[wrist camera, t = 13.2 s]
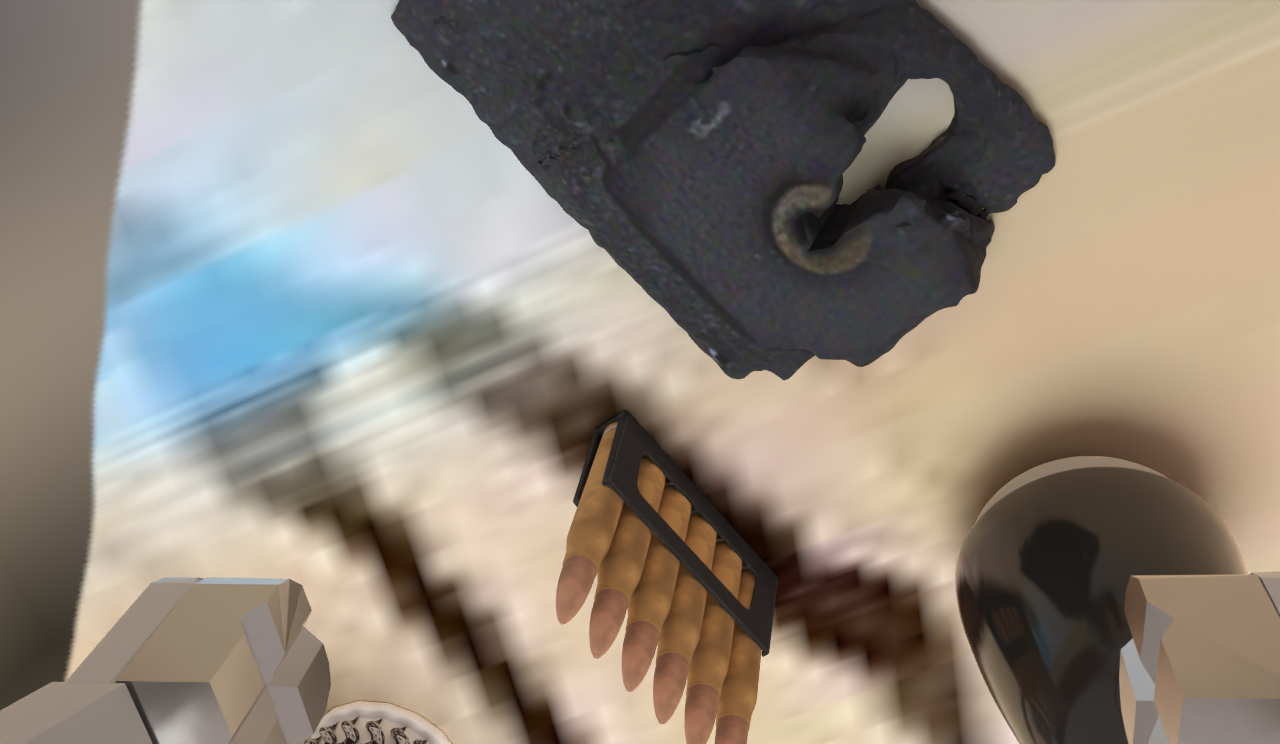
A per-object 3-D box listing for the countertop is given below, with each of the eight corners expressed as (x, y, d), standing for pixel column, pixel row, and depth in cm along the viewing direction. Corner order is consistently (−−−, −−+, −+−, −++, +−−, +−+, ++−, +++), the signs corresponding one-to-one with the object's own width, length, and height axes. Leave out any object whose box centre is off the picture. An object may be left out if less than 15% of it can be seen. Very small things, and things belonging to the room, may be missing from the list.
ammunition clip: (593, 430, 47) (522, 615, 37) (625, 408, 46) (563, 591, 36) (746, 596, 50) (721, 812, 40) (779, 579, 49) (763, 794, 39)
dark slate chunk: (659, -345, 34) (634, -362, 30) (1085, 171, 39) (1115, 217, 35) (362, 7, 41) (308, 33, 36) (762, 409, 46) (755, 471, 42)
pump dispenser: (1227, 409, 42) (1404, 698, 29) (1192, 622, 47) (1331, 953, 34) (950, 412, 44) (998, 684, 31) (943, 616, 49) (983, 928, 36)
